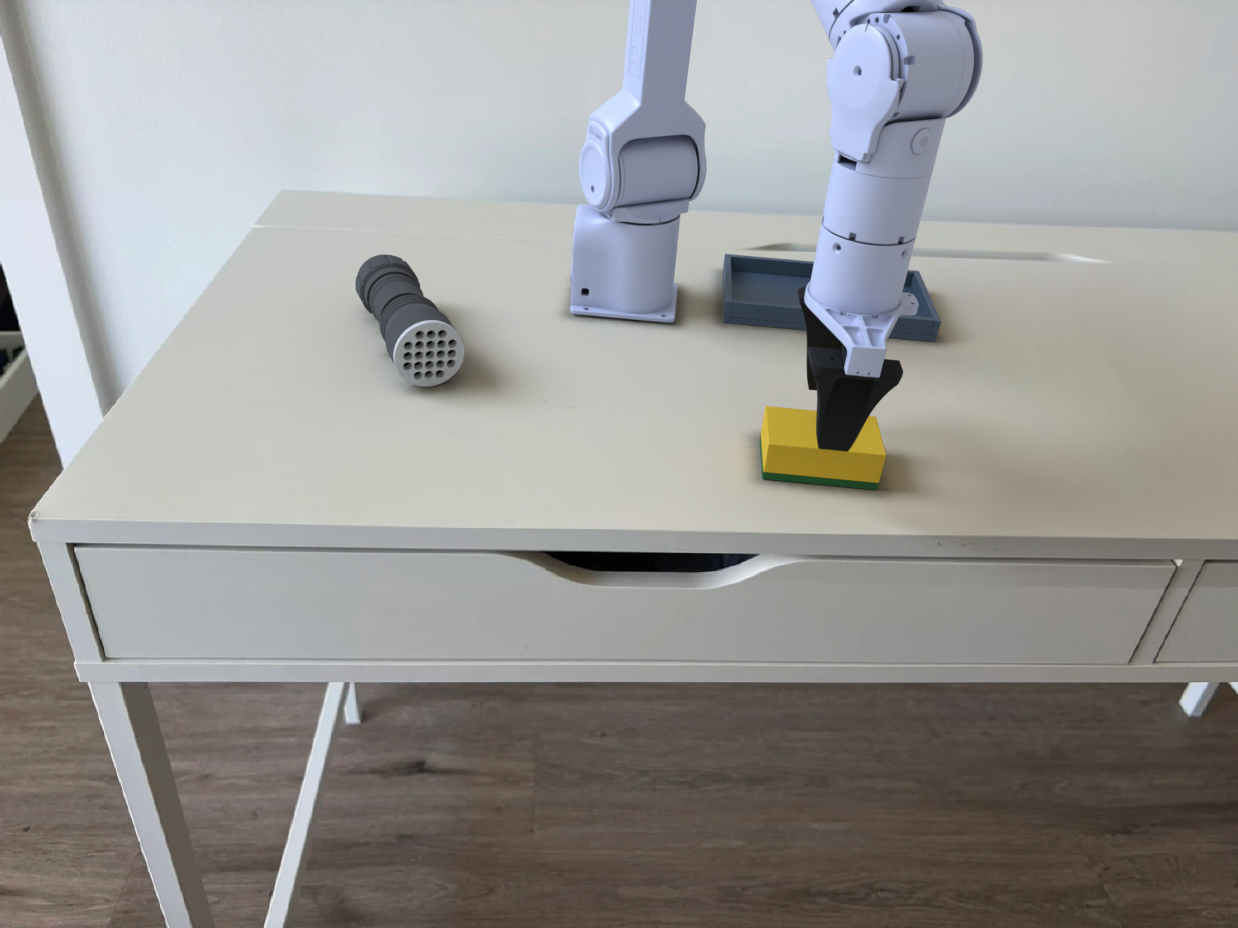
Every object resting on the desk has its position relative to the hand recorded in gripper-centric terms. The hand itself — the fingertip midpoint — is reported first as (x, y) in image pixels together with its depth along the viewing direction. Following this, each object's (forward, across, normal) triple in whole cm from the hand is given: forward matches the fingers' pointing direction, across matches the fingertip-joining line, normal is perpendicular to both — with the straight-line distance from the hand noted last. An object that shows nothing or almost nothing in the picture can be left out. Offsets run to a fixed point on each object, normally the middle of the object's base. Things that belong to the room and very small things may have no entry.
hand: (827, 416), depth 64 cm
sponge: (+4, 0, 0) cm, 4 cm away
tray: (+4, +27, -3) cm, 28 cm away
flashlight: (+4, +12, +33) cm, 35 cm away
